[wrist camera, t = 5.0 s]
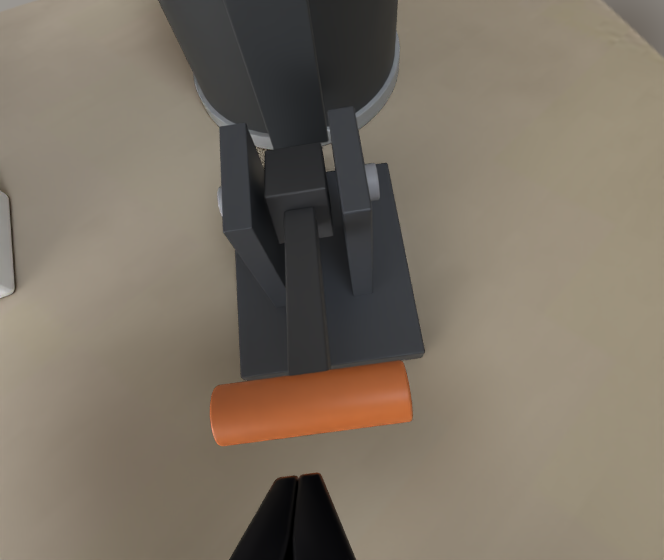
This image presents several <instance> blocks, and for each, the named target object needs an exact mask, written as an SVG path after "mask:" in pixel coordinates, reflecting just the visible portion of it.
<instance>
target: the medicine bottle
mask: <svg viewBox="0 0 664 560" xmlns="http://www.w3.org/2000/svg"><path fill="white" fill-rule="evenodd" d="M14 289H15V284H14V269H13V254H12V239H11V223H10V208H9V198H8V196H7V195H6V194H4V193H3V192H2V191H0V298H2V297H5V296H8V295H10V294H12V293H13V292H14Z"/></svg>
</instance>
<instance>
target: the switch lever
mask: <svg viewBox="0 0 664 560" xmlns="http://www.w3.org/2000/svg"><path fill="white" fill-rule="evenodd" d="M264 199H265V202H266V206H267V209H268V212H269V215H270V218H271V221H272V225H273V228H274V231H275V234H276V237H277V240H278V243H279V244H282V243H285V276H286V315H287V354H288V376H281V377H274V378H266V379H259V380H252V381H244V382H237V383H230V384H222V385H218V386H216V387H215V388H214V390H213V393H212V396H211V402H210V422H211V428H212V433H213V436H214V439H215V441H216V442H217V444H218V445H220V446H228V445H236V444H244V443H251V442H259V441H267V440H274V439H282V438H289V437H297V436H305V435H312V434H320V433H327V432H335V431H343V430H350V429H358V428H366V427H373V426H381V425H388V424H396V423H404V422H410V421H412V418H413V409H412V400H411V393H410V388H409V382H408V377H407V373H406V369H405V366H404V363H403V362H402V361H400V360H398V361H390V362H383V363H376V364H368V365H361V366H354V367H346V368H339V369H332V370H331V360H330V349H329V339H328V328H327V317H326V307H325V296H324V286H323V275H322V265H321V254H320V244H319V238H323V237H329V236H333V235H334V227H333V219H332V212H331V204H330V196H329V188H328V182H327V176H326V170H325V164H324V158H323V152H322V145H321V143H320V142H318V143H311V144H305V145H299V146H292V147H286V148H280V149H273V150H267V151H265V171H264Z"/></svg>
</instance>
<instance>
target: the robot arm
mask: <svg viewBox="0 0 664 560" xmlns="http://www.w3.org/2000/svg"><path fill="white" fill-rule="evenodd" d="M229 560H356V558H355V556H354V553H353V551H352V548H351V546H350V544H349V541H348V539H347V536H346V534H345V531H344V529H343V526H342V524H341V522H340V519H339V517H338V514H337V512H336V509H335V507H334V505H333V502H332V500H331V497H330V495H329V492H328V490H327V487H326V485H325V483H324V480H323V478H322V476H321V474H320V473H310V474H303V475H301V476H300V477H299V478H298V477H297V476H287V477H280V478H277V479H276V480H275V481H274V483H273V485H272V486H271V488H270V490H269V492H268V493H267V495H266V497H265V499H264V500H263V502H262V504H261V505H260V507H259V509H258V511H257V512H256V514H255V516H254V518H253V519H252V521H251V523H250V524H249V526H248V528H247V530H246V531H245V533H244V535H243V537H242V538H241V540H240V542H239V543H238V545H237V547H236V549H235V550H234V552H233V554H232V556H231V557H230V559H229Z"/></svg>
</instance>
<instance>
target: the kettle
mask: <svg viewBox="0 0 664 560" xmlns="http://www.w3.org/2000/svg"><path fill="white" fill-rule="evenodd" d="M158 1H159V3H160V5H161V7H162V9H163V11H164V13H165V15H166V17H167V20H168V22H169V24H170V26H171V28H172V30H173V32H174V34H175V36H176V38H177V40H178V42H179V44H180V46H181V48H182V51H183V53H184V55H185V57H186V59H187V61H188V63H189V65H190V67H191V69H192V71H193V75H194V83H195V86H196V90H197V92H198V94H199V96H200V99H201V101H202V103H203V105H204V107H205V109H206V111H207V112H208V114H209V115H210V117H211V118H212V119H213V121H214V122H215V123H216V124H217V125H218V126H219V127H220V126H226V125H233V124H239V123H246V125H247V127H248V130H249V132H250V135H251V137H252V140H253V142H254V145H255V146H256V147H260V148H264V149H271V150H273V149H280V148H286V147H292V146H299V145H305V144H311V143H318V142H320V143H321V145H322V146H324V145H327V144H330V143H332V142H331V135H330V128H329V121H328V114H327V112H328V110H330V109H336V108H342V107H348V106H353V107H354V108H355V113H356V119H357V125H358V129H360V128H361V127H363V126H364V125H365V124H366V123H368V122H369V121H370V120H371V119H372V118H373V117H374V116H375V115H376V114H377V113H378V112H379V111H380V110H381V109H382V107H383V106H384V105H385V103H386V102H387V100H388V99H389V97H390V95H391V93H392V91H393V89H394V86H395V84H396V81H397V76H398V71H399V56H400V45H399V38H398V34H397V31H396V23H397V4H398V0H158Z"/></svg>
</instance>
